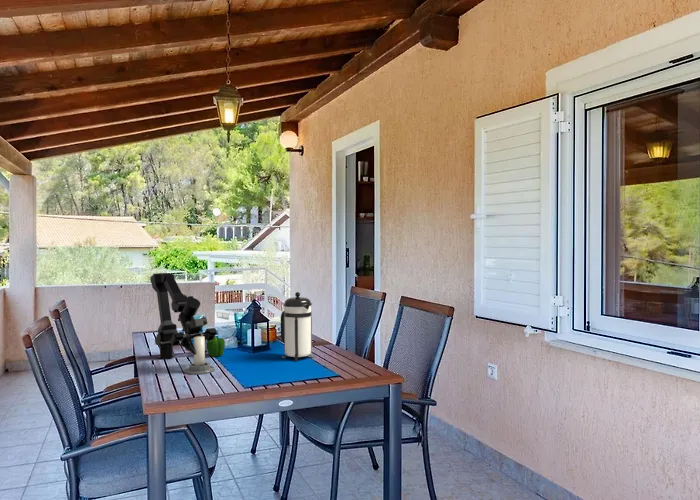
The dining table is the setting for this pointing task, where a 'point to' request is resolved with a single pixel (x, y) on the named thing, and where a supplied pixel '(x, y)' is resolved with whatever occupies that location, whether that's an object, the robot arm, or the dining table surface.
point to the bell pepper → (216, 347)
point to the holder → (199, 369)
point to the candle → (199, 351)
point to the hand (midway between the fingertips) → (200, 353)
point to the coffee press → (297, 327)
